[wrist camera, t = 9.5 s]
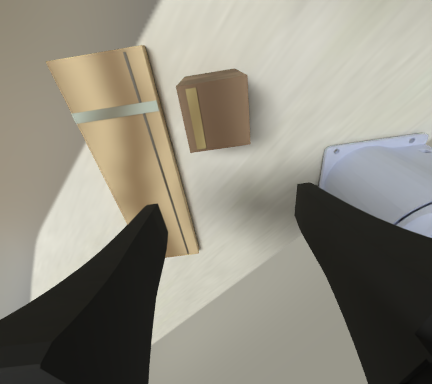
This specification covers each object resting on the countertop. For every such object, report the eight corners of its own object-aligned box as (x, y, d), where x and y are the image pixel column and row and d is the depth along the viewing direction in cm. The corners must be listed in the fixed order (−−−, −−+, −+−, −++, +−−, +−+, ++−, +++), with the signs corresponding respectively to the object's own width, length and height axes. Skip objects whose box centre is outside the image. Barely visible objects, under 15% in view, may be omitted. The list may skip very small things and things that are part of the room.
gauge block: (234, 68, 16) (247, 75, 11) (238, 119, 19) (250, 144, 14) (184, 76, 17) (175, 86, 12) (194, 126, 19) (190, 153, 14)
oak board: (144, 45, 15) (140, 45, 14) (198, 247, 28) (198, 254, 27) (54, 61, 16) (44, 61, 15) (147, 253, 28) (145, 260, 27)
